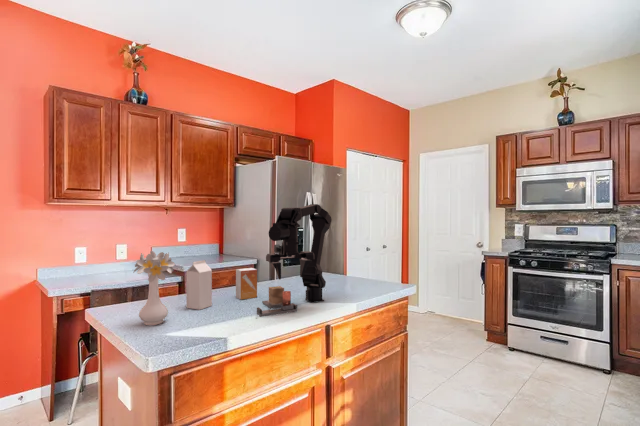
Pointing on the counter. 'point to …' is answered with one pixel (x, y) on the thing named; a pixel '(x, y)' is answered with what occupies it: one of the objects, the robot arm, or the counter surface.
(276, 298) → the block
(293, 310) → the rail
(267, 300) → the plate
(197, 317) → the counter surface
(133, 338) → the counter surface
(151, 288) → the flower vase
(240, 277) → the small box
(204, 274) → the milk carton
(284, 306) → the handle
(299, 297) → the counter surface
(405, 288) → the counter surface
